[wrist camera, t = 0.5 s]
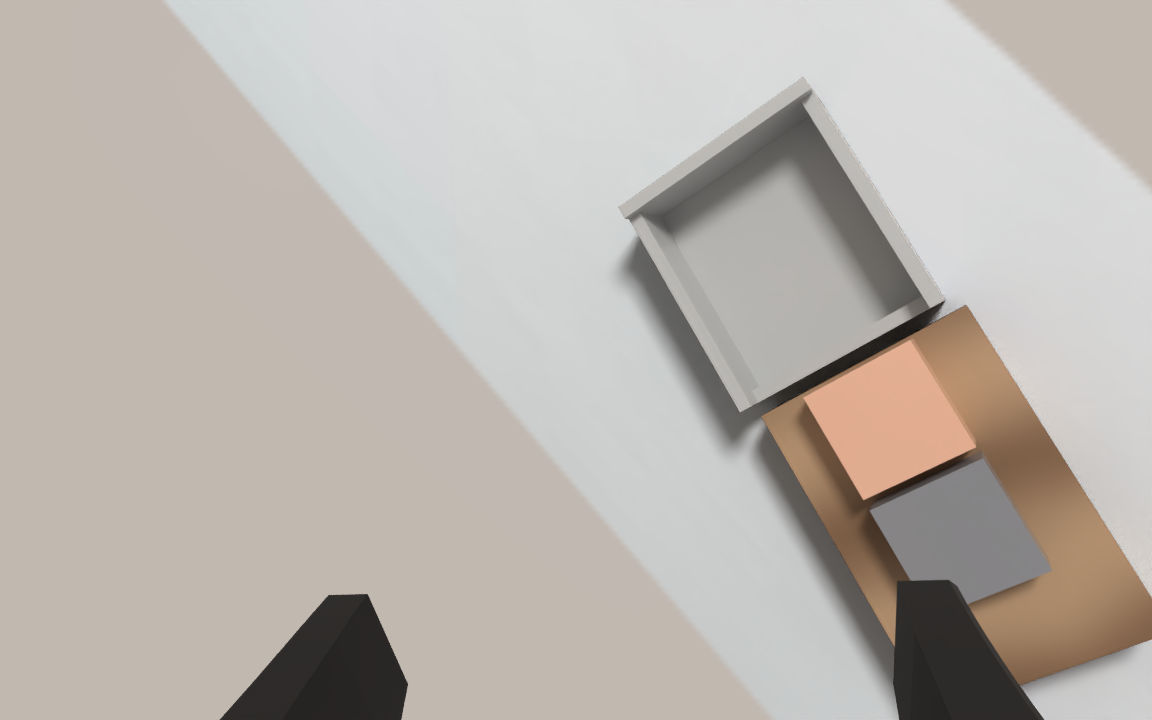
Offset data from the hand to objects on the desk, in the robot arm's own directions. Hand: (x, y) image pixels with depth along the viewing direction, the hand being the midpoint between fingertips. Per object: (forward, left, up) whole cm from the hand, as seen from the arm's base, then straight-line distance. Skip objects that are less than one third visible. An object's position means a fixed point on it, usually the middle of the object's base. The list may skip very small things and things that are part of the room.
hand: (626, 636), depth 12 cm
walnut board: (-4, -2, -23) cm, 24 cm away
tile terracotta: (-1, -2, -21) cm, 21 cm away
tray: (+7, -1, -23) cm, 24 cm away
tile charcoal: (-5, -2, -21) cm, 22 cm away
